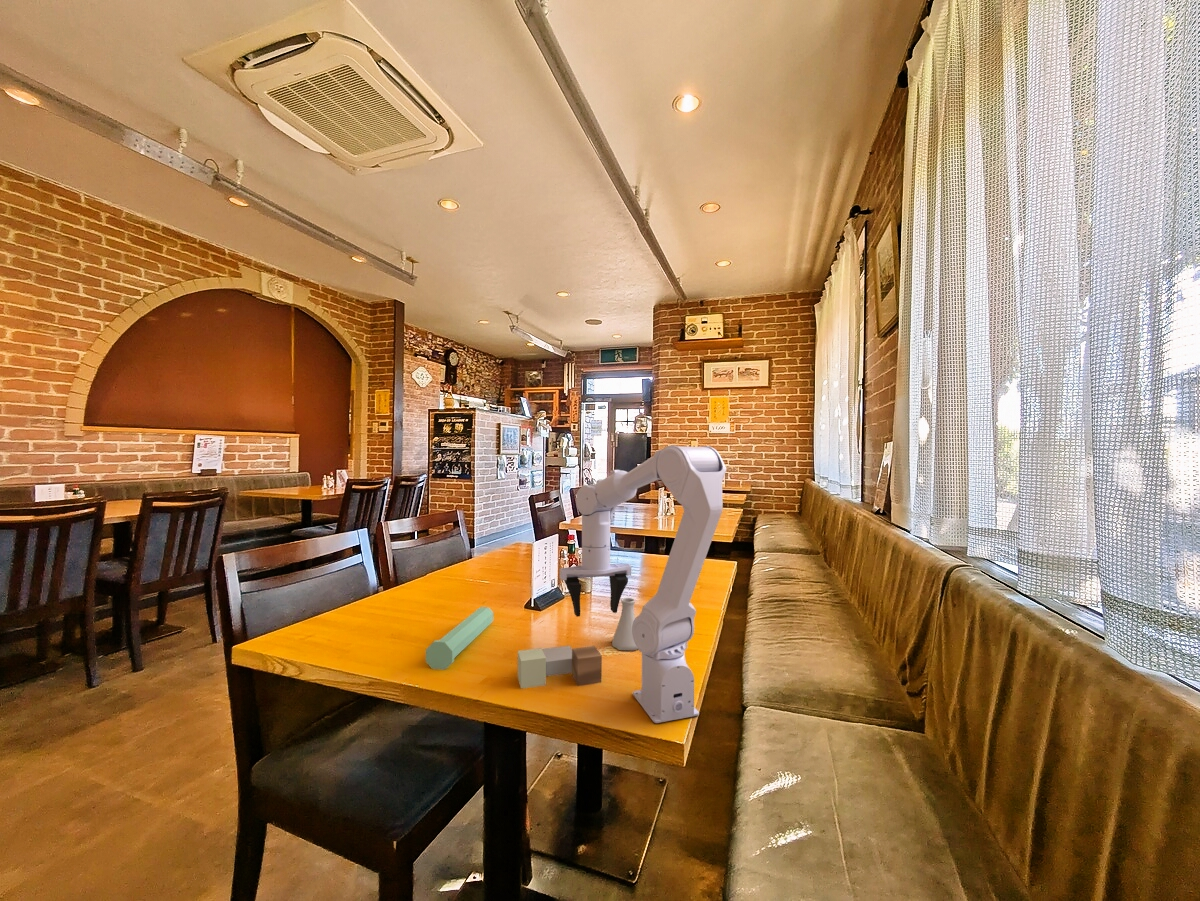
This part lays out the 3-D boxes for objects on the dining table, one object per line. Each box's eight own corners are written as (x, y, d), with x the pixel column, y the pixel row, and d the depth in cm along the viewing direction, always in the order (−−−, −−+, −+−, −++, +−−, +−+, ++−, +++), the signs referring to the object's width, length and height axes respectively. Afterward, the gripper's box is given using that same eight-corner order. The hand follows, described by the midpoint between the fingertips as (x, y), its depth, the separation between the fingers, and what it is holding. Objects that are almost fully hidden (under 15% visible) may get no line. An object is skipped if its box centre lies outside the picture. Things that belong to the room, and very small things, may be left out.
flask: (616, 653, 98) (617, 606, 98) (607, 640, 105) (607, 596, 105) (648, 650, 100) (649, 603, 100) (637, 637, 107) (637, 593, 107)
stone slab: (576, 673, 90) (577, 657, 90) (546, 677, 88) (546, 661, 88) (569, 660, 95) (569, 645, 95) (540, 663, 94) (540, 649, 94)
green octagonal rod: (480, 598, 115) (431, 635, 91) (501, 608, 115) (457, 649, 90) (471, 620, 116) (420, 663, 91) (492, 630, 115) (446, 676, 90)
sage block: (545, 685, 85) (546, 657, 85) (521, 689, 83) (521, 661, 83) (541, 674, 89) (541, 647, 89) (517, 677, 87) (517, 650, 87)
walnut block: (601, 682, 86) (601, 655, 86) (577, 686, 84) (578, 658, 84) (594, 671, 90) (594, 645, 90) (571, 674, 89) (572, 648, 89)
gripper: (623, 539, 99) (622, 603, 99) (556, 543, 95) (556, 610, 95) (635, 546, 92) (635, 614, 92) (564, 550, 88) (563, 621, 88)
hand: (595, 613), depth 93 cm, fingers open, 7 cm apart
